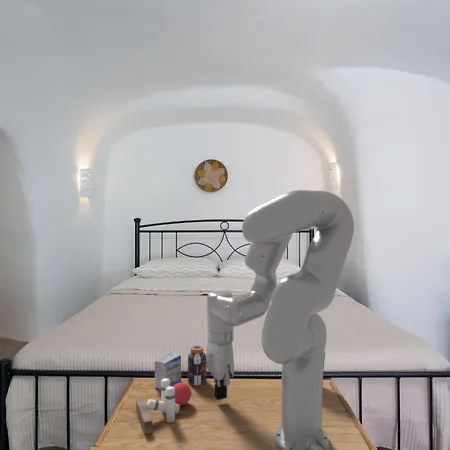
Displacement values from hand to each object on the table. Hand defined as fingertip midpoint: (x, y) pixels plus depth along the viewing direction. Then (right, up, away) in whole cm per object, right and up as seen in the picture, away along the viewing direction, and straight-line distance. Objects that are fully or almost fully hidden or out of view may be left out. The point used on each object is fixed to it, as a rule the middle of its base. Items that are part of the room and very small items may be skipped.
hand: (220, 397), depth 107 cm
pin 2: (-13, -2, -8) cm, 16 cm away
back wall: (-20, -2, -9) cm, 22 cm away
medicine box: (-17, -1, +11) cm, 20 cm away
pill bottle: (-8, -1, +13) cm, 15 cm away
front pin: (-12, -1, -5) cm, 13 cm away
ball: (-12, +1, -1) cm, 12 cm away
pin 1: (-15, -2, -4) cm, 16 cm away
